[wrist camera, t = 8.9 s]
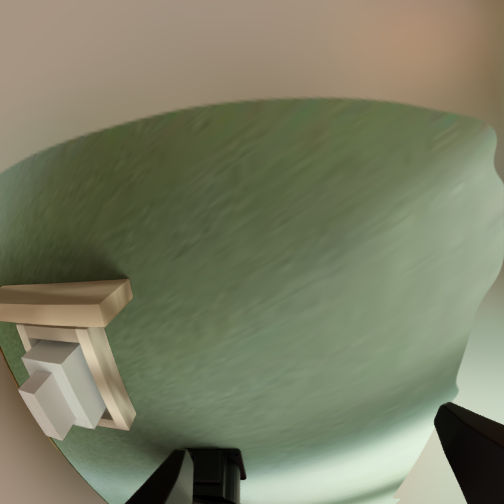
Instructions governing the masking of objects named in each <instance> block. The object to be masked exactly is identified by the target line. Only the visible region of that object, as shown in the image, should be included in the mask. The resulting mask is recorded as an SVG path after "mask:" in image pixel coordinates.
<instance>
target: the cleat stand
mask: <svg viewBox="0 0 504 504" xmlns="http://www.w3.org/2000/svg"><path fill="white" fill-rule="evenodd" d="M132 298H133V294H132V290H131V285H130V280H129V279H117V280H101V281H85V282H68V283H49V284H29V285H6V286H2V287H0V321H6V322H16V323H18V324H16V327H17V329H18V332H19V335H20V337H21V340H22V343H23V345H24V348H25V350H26V352H28V351H29V350H30V349H31V348H33V347H34V346H35V345H36V344H37V343H38V342H39V341H41V340H42V339H44V340H53V341H64V342H76V343H80V346H81V348H82V351H83V354H84V356H85V359H86V361H87V364H88V366H89V369H90V371H91V374H92V376H93V378H94V381H95V383H96V385H97V387H98V390H99V392H100V394H101V396H102V398H103V400H104V402H105V404H106V406H107V407H106V409H105V411H104V413H103V414H102V416H101V418H100V420H99V422H98V424H97V425H98V426H104V427H109V428H115V429H121V430H128V431H129V430H130V428H131V425H132V423H133V421H134V418H135V416H136V412H135V410H134V407H133V405H132V403H131V400H130V398H129V396H128V393H127V391H126V389H125V386H124V384H123V381H122V379H121V376H120V373H119V371H118V368H117V365H116V363H115V360H114V357H113V354H112V351H111V348H110V345H109V342H108V339H107V336H106V333H105V330H104V327H106V326H107V325H108V324H109V322H110V321H111V320H112V319H113V318H114V317H115V316H116V315H117V314H118V313H119V312H120V311H121V310H122V309H123V308H124V307H125V306H126V305H127V303H128V302H129V301H130V300H131V299H132Z"/></svg>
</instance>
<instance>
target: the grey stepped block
mask: <svg viewBox="0 0 504 504" xmlns="http://www.w3.org/2000/svg"><path fill="white" fill-rule="evenodd" d="M21 358H22V360H23V362H24V364H25V367H26V369H27V371H28V373H29V375H30V377H29V378H28V379H27V380H26V381H25V383H24V384H23V385H22V386H21V387H20V388H19V389H18V391H19V393H20V394H21V396H22V398H23V400H24V401H25V403H26V405H27V406H28V408H29V410H30V411H31V413H32V415H33V416H34V418H35V419H36V421H37V422H38V424H39V425H40V427H41V428H42V430H43V431H44V433H45V434H46V435H47V436H49V437H52V438H55V439H58V440H61V441H63V440H64V438H65V436H66V435H67V433H68V431H69V430H70V428H71V427H72V425H77V426H81V427H86V428H90V429H95V427H96V425H97V424H98V422H99V420H100V418H101V416H102V414H103V413H104V411H105V409H106V407H107V406H106V404H105V402H104V400H103V398H102V396H101V394H100V392H99V390H98V387H97V385H96V383H95V381H94V378H93V376H92V374H91V371H90V369H89V366H88V364H87V361H86V359H85V356H84V354H83V351H82V348H81V346H80V343H76V342H64V341H53V340H44V339H42V340H41V341H39V342H38V343H37V344H36V345H35V346H34V347H33V348H31V349H30V350H29V351H28V352H27V353H26V354H25V355H24V356H23V357H21Z"/></svg>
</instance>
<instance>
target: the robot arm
mask: <svg viewBox="0 0 504 504" xmlns="http://www.w3.org/2000/svg"><path fill="white" fill-rule="evenodd" d="M434 425H435V428H436V431H437V433H438V436H439V439H440V441H441V445H442V447H443V450H444V453H445V455H446V457H447V459H448V462H449V464H450V466H451V468H452V470H453V472H454V474H455V477H456V479H457V481H458V483H459V485H460V487H461V490H462V492H463V495H464V497H465V499H466V502H467V504H504V425H503V424H500V423H498V422H495V421H493V420H491V419H488V418H486V417H483V416H481V415H479V414H476V413H474V412H472V411H470V410H467V409H465V408H463V407H461V406H458V405H456V404H454V403H452V402H447V403H445V404H443V405H441V406H440V407H439V409H438V412H437V414H436V416H435V419H434ZM245 479H246V472H245V468H244V463H243V459H242V454H241V451H240V450H195V449H174V450H173V451H172V452H171V454H170V455H169V456H168V457H167V458H166V459H165V460H164V462H163V463H162V464H161V465H160V466H159V467H158V468H157V469H156V471H155V472H154V473H153V474H152V475H151V476H150V477H149V478H148V479H147V480H146V482H145V483H144V484H143V485H142V486H141V487H140V488H139V489H138V490H137V491H136V492H135V493H134V494H133V495H132V497H131V498H130V499H129V500H128V501H127V502H126V503H125V504H240V480H245Z"/></svg>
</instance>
